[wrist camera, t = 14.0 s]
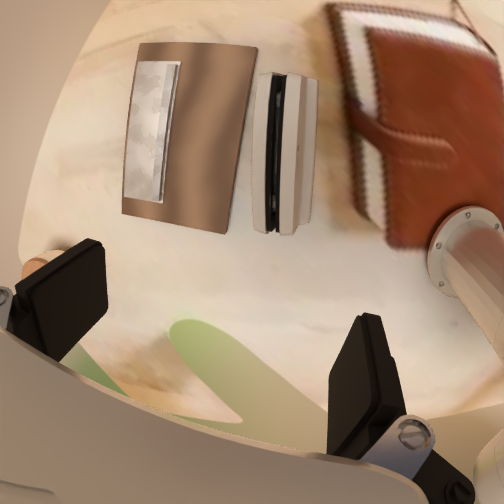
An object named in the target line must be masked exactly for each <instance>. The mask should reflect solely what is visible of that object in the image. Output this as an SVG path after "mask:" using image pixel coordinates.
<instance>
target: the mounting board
mask: <svg viewBox="0 0 504 504" xmlns="http://www.w3.org/2000/svg"><path fill="white" fill-rule="evenodd" d="M256 55H257V48H256V47H250V46H240V45H229V44H215V43H189V42H164V43H140V45H139V50H138V55H137V60H136V66H135V71H134V77H133V83H132V90H131V97H130V104H129V112H128V121H127V130H126V141H125V153H124V167H123V187H122V214H126V215H131V216H136V217H141V218H146V219H151V220H156V221H161V222H166V223H171V224H176V225H181V226H185V227H190V228H195V229H200V230H205V231H210V232H215V233H220V234H224V235H225V233H226V232H227V227H228V221H229V214H230V207H231V201H232V194H233V188H234V182H235V175H236V169H237V163H238V157H239V151H240V145H241V139H242V133H243V127H244V121H245V116H246V110H247V104H248V99H249V93H250V88H251V82H252V77H253V71H254V66H255V61H256ZM141 61H180V62H182V65H181V70H180V76H179V82H178V88H177V94H176V100H175V107H174V114H173V121H172V128H171V136H170V144H169V153H168V162H167V172H166V183H165V195H164V203H157V202H151V201H146V200H140V199H134V198H129V197H124V181H125V164H126V150H127V139H128V129H129V120H130V111H131V103H132V96H133V89H134V83H135V77H136V71H137V65H138V62H141Z"/></svg>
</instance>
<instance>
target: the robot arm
mask: <svg viewBox="0 0 504 504" xmlns="http://www.w3.org/2000/svg"><path fill="white" fill-rule="evenodd" d="M427 264H428V272H429V275H430V278H431V280H432V281H433V283H434V285H435V286H436V287H437V289H438V290H440V291H441V292H442V293H443V294H445V295H447V296H451V297H459V299H460V300H461V301H462V303H463V304H464V305H465V307H466V308H467V310H468V311H469V312H470V314H471V315H472V317H473V318H474V320H475V321H476V322H477V324H478V325H479V327H480V328H481V330H482V331H483V333H484V334H485V336H486V337H487V339H488V340H489V342H490V344H491V345H492V347H493V348H494V350H495V351H496V353H497V355H498V356H499V358H500V359H501V361H502V362H503V364H504V232H503V228H502V226H501V223H500V221H499V220H498V218H497V217H496V216H495V215H494V214H493V213H492V212H490V211H489V210H487V209H485V208H483V207H480V206H466V207H463V208H460V209H458V210H456V211H455V212H453V213H451V214H450V215H449V216H448V217H447V218H446V219H445V220H444V221H443V222H442V223H441V225H440V226H439V227H438V229H437V230H436V232H435V234H434V236H433V238H432V241H431V243H430V247H429V251H428V259H427ZM15 289H16V293H17V294H15V295H14V296H13V293H12V291H11V290H10V289H9V288H7V287H2V286H1V287H0V504H474V501H475V494H476V496H477V498H478V500H479V502H480V504H504V428H503V429H502V430H501V431H500V432H499V433H498V434H496V435H495V436H494V437H493V438H492V440H490V441H489V442H488V443H487V445H486V446H485V447H484V448H483V449H482V451H481V452H480V454H479V455H478V457H477V459H476V461H475V464H474V468H473V477H472V480H473V484H472V482H471V481H470V480H469V479H468V478H467V477H465V476H464V475H463V474H462V473H460V472H459V471H458V470H457V469H456V468H454V467H453V466H452V465H451V464H450V463H448V462H447V461H446V460H445V459H444V458H442V457H441V456H440V455H439V454H437V453H436V452H435V451H434V450H433V447H434V444H435V434H434V431H433V429H432V428H431V426H430V424H429V423H427V422H426V421H425V420H424V419H422V418H420V417H418V416H415V415H407V413H406V408H405V403H404V398H403V394H402V389H401V385H400V380H399V376H398V372H397V367H396V363H395V360H394V358H393V357H392V356H391V354H390V350H389V346H388V343H387V339H386V335H385V331H384V327H383V324H382V320H381V317H380V316H378V315H374V314H370V313H363V314H362V316H359V315H358V316H357V317H356V318H355V321H354V323H353V325H352V327H351V329H350V332H349V334H348V336H347V338H346V340H345V342H344V345H343V347H342V349H341V351H340V353H339V355H338V357H337V359H336V361H335V363H334V365H333V367H332V369H331V371H330V374H329V391H328V432H327V454H322V453H316V452H310V451H304V450H299V449H294V448H289V447H284V446H279V445H275V444H270V443H266V442H262V441H257V440H253V439H249V438H245V437H241V436H238V435H234V434H230V433H226V432H223V431H220V430H216V429H212V428H210V427H206V426H203V425H200V424H197V423H194V422H191V421H188V420H185V419H182V418H179V417H176V416H174V415H171V414H168V413H166V412H163V411H160V410H158V409H155V408H153V407H150V406H148V405H145V404H143V403H140V402H138V401H136V400H133V399H131V398H128V397H126V396H124V395H122V394H120V393H117V392H115V391H113V390H111V389H109V388H106V387H105V386H102V385H100V384H98V383H96V382H94V381H92V380H90V379H88V378H86V377H84V376H82V375H81V374H79V373H77V372H75V371H73V370H71V369H69V368H68V367H66V366H64V365H62V364H60V363H59V362H60V361H61V359H62V358H63V357H64V356H65V355H66V354H67V353H68V352H69V351H70V350H71V349H72V348H73V347H74V346H75V344H76V343H77V342H78V341H79V340H80V339H81V338H82V337H83V336H84V335H85V334H86V333H87V332H88V331H89V330H90V329H91V328H92V327H93V326H94V325H95V324H96V323H97V322H98V321H99V320H100V318H101V317H102V316H103V315H104V314H105V313H106V312H107V310H108V295H107V281H106V264H105V249H104V247H102V244H101V242H99V241H96V240H92V239H89V238H87V239H85V240H83V241H82V242H80V243H78V244H77V245H75V246H73V247H72V248H70V249H69V250H67V251H65V252H64V253H62V254H61V255H59V256H58V257H56V258H54V259H53V260H51V261H50V262H48V263H47V264H45V265H44V266H42V267H41V268H39V269H38V270H36V271H35V272H33V273H32V274H30V275H29V276H27V277H26V278H24V279H23V280H21V281H20V282H19V283H17V284H16V285H15Z"/></svg>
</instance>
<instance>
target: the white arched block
mask: <svg viewBox="0 0 504 504" xmlns="http://www.w3.org/2000/svg"><path fill="white" fill-rule="evenodd" d="M317 103H318V80H315V79H311V78H307V77H304V76H302V75H298V74H293V73H289V72H288V74H287V75H282V74H279V73H275V72H271V73H266V74H261V75H259V77H258V83H257V91H256V100H255V111H254V124H253V142H252V210H253V225H254V230H256V231H259V232H262V233H265V234H267V233H268V232H272V231H273V230H274V228H276V232H278V233H280V235H281V236H284V235H293V234H294V232H295V230H296V228H297V227H298V225H301V224H306V223H309V220H310V212H311V200H312V188H313V175H314V160H315V144H316V126H317Z"/></svg>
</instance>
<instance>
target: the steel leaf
mask: <svg viewBox="0 0 504 504" xmlns="http://www.w3.org/2000/svg"><path fill="white" fill-rule="evenodd" d="M181 65H182V62H180V61H141V62H138V65H137V71H136V77H135V83H134V89H133V96H132V103H131V111H130V120H129V129H128V139H127V150H126V164H125V181H124V197H129V198H134V199H140V200H146V201H151V202H157V203H164V195H165V183H166V172H167V162H168V153H169V144H170V136H171V128H172V121H173V114H174V107H175V100H176V94H177V88H178V82H179V76H180V70H181Z"/></svg>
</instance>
